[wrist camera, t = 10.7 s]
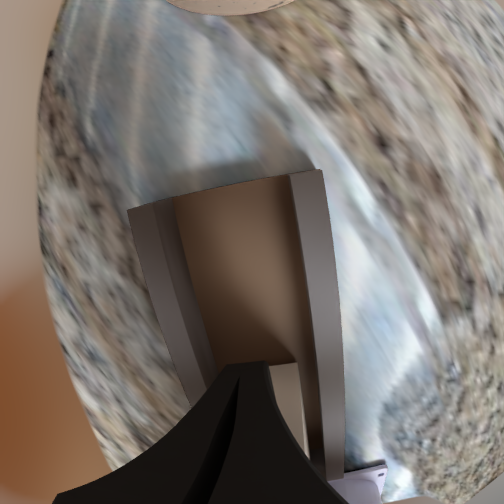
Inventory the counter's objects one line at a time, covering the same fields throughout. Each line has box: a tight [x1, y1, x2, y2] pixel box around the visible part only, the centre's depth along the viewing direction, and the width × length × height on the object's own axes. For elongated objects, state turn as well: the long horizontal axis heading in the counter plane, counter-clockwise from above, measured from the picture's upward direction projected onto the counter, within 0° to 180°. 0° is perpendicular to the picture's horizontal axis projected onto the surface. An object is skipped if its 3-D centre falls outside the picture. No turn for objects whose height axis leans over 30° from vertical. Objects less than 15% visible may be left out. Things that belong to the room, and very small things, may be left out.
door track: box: [127, 169, 345, 481], centre depth 12 cm, size 16×7×4 cm, turn 11°
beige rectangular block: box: [269, 363, 310, 460], centre depth 10 cm, size 3×7×7 cm, turn 11°
